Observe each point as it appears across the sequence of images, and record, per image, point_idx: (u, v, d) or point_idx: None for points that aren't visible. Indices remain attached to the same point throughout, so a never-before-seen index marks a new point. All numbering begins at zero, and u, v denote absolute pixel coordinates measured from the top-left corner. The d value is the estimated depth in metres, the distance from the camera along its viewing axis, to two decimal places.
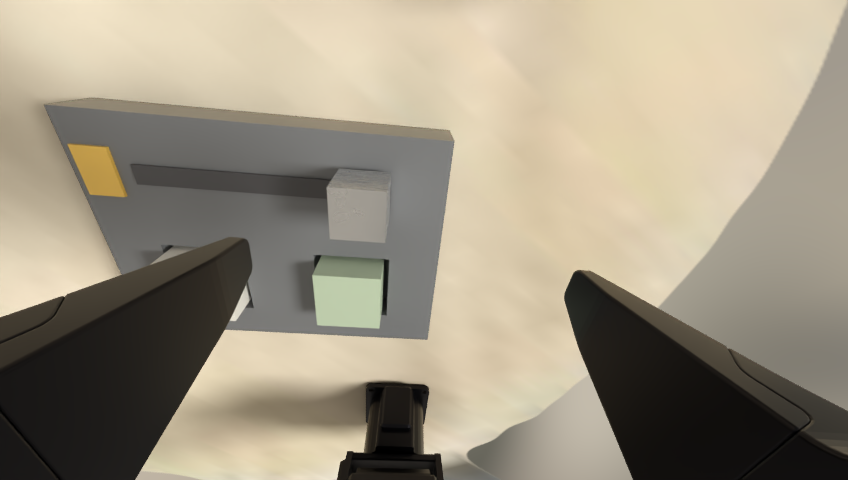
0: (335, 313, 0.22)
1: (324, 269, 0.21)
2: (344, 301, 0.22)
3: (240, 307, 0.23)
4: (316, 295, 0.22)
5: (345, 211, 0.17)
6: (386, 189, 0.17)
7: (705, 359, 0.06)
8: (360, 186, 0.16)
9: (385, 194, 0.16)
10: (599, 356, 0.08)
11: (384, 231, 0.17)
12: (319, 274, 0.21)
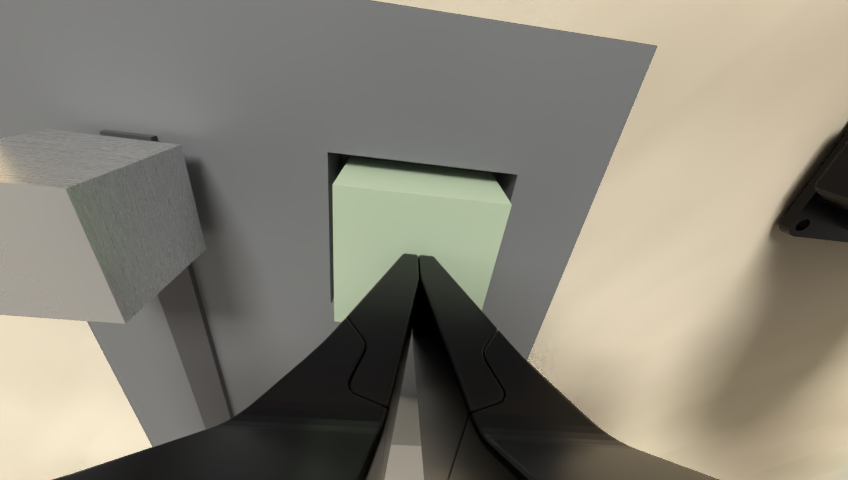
0: None
1: None
2: None
3: None
4: None
5: (12, 282, 0.06)
6: None
7: (453, 340, 0.05)
8: None
9: None
10: (417, 343, 0.07)
11: (18, 187, 0.05)
12: (334, 308, 0.10)
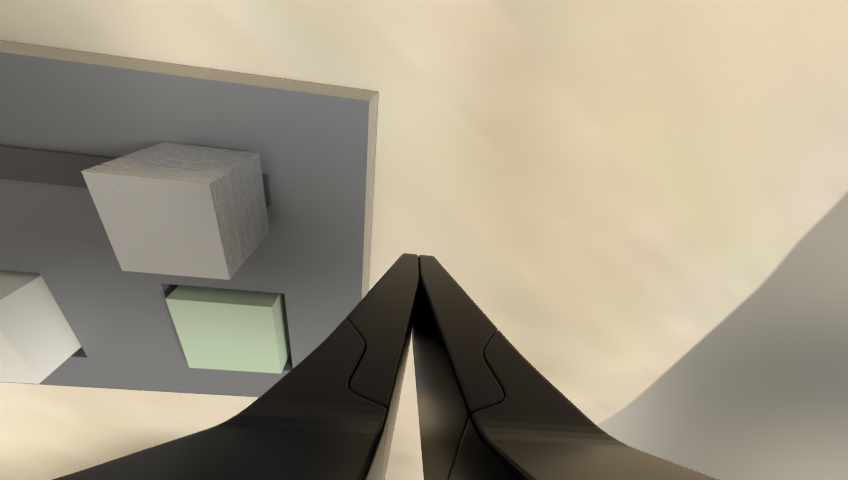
0: (212, 352, 0.15)
1: (190, 289, 0.14)
2: (222, 335, 0.15)
3: (52, 360, 0.15)
4: (179, 327, 0.15)
5: (135, 220, 0.09)
6: (213, 180, 0.08)
7: (454, 340, 0.05)
8: (160, 173, 0.08)
9: (206, 190, 0.08)
10: (417, 343, 0.07)
11: (222, 259, 0.09)
12: (177, 297, 0.14)
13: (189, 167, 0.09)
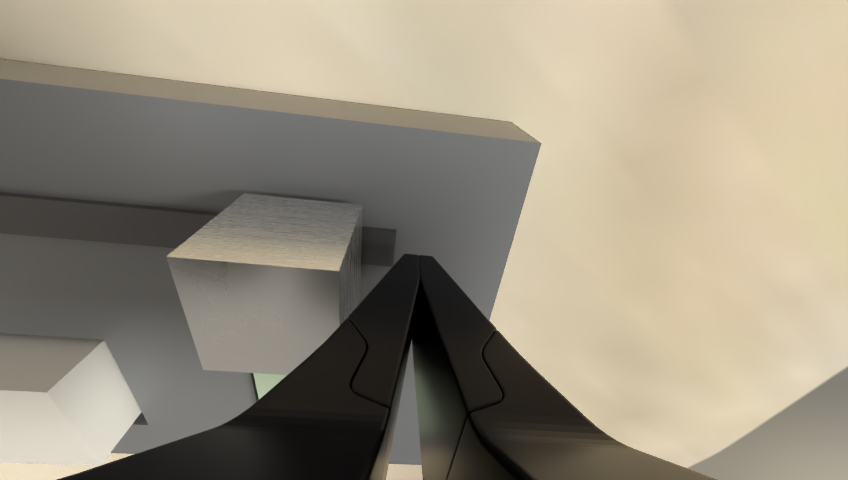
0: None
1: None
2: None
3: (113, 435, 0.13)
4: None
5: (230, 313, 0.06)
6: (339, 261, 0.06)
7: (452, 340, 0.05)
8: (268, 253, 0.06)
9: (334, 277, 0.06)
10: (416, 343, 0.07)
11: None
12: None
13: (297, 238, 0.07)
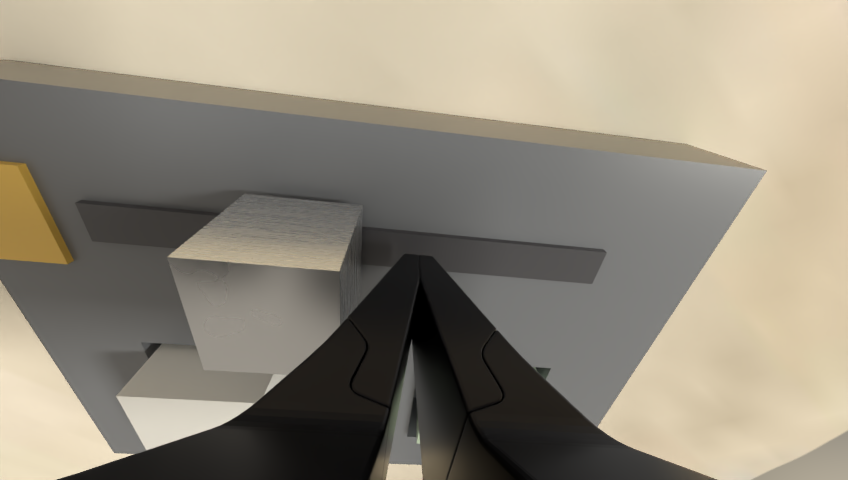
0: None
1: None
2: None
3: None
4: None
5: (231, 313, 0.06)
6: (339, 261, 0.06)
7: (452, 340, 0.05)
8: (268, 253, 0.06)
9: (335, 277, 0.06)
10: (416, 343, 0.07)
11: None
12: None
13: (297, 238, 0.07)
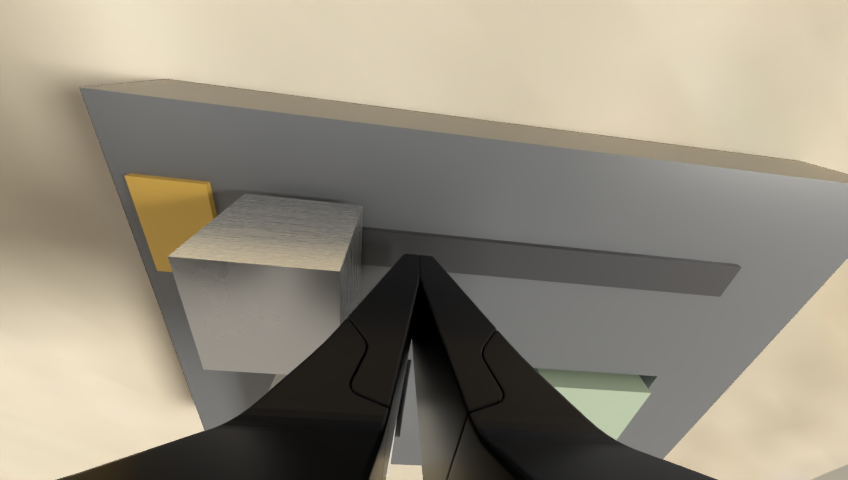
0: None
1: (552, 371, 0.13)
2: None
3: None
4: None
5: (231, 313, 0.06)
6: (340, 261, 0.06)
7: (452, 340, 0.05)
8: (269, 253, 0.06)
9: (335, 277, 0.06)
10: (416, 343, 0.07)
11: None
12: (554, 384, 0.13)
13: (298, 238, 0.07)
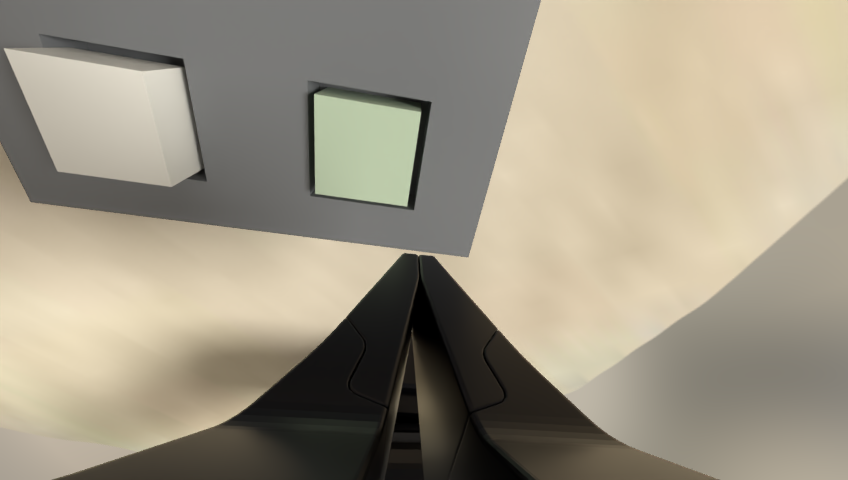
0: (344, 173, 0.15)
1: (333, 94, 0.14)
2: (360, 150, 0.14)
3: (181, 168, 0.14)
4: (318, 135, 0.14)
5: None
6: None
7: (453, 340, 0.05)
8: None
9: None
10: (417, 343, 0.07)
11: None
12: (325, 95, 0.13)
13: None
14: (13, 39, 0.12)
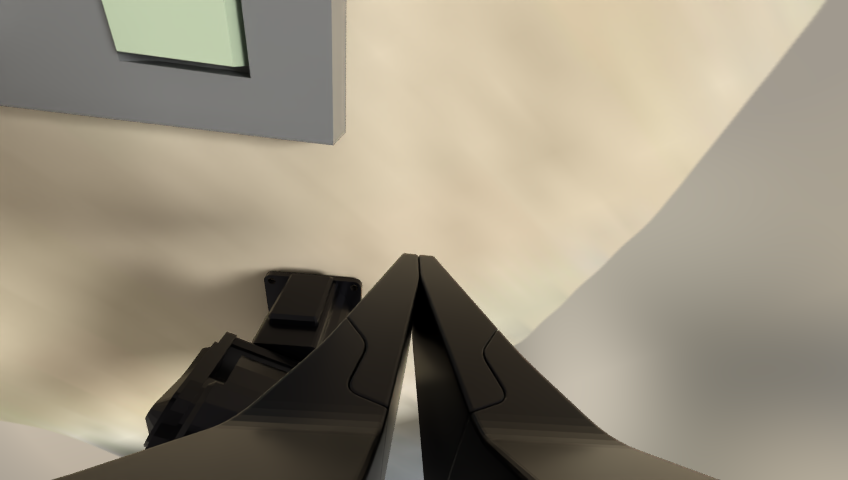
0: (143, 18, 0.12)
1: None
2: None
3: None
4: None
5: None
6: None
7: (454, 340, 0.05)
8: None
9: None
10: (417, 343, 0.07)
11: None
12: None
13: None
14: None
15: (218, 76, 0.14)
